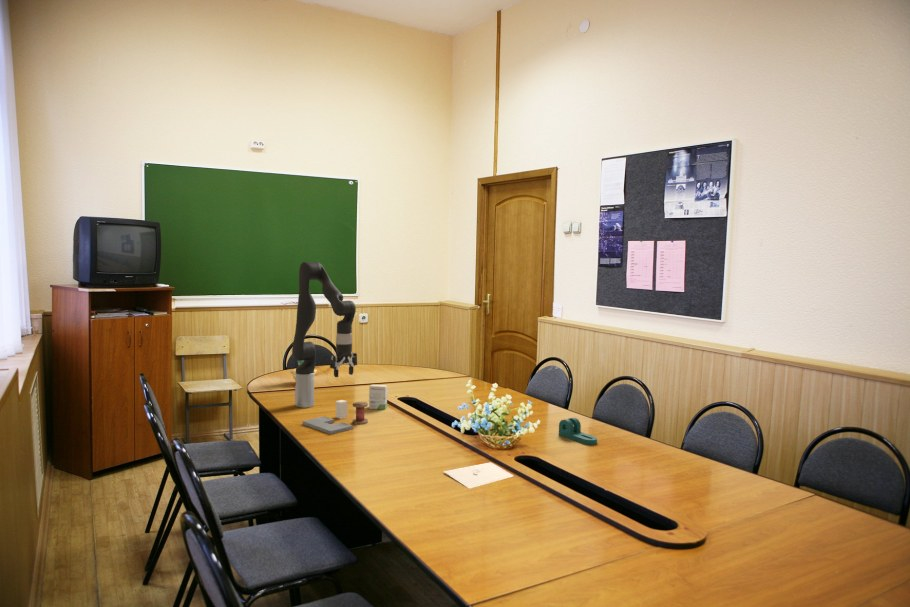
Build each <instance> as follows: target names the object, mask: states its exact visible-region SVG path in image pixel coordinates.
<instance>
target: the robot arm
mask: <svg viewBox="0 0 910 607" xmlns="http://www.w3.org/2000/svg"><path fill="white" fill-rule="evenodd" d="M310 281H318V282H319V283H321V287H322V288H321V291H322V292H321V293H322V294H323V296H324V297H325V299H326V300H327V301H328V302H329V304H330V306H331V309H332V312H333V313H334V314H335V315H336V316H339V317H343V318H342V319H341V320H338V321H337V323H336V338H335V352H336V355H330V360H329V361H330V362H329V368H330V369H333V376H334V378H339V370H340V369H339V368H340V367H341V366H342V365H344V364H347V365H348V375H349V376H350V375H351V376H352V375H354V367H355V366H357V365H358V354H357V352H353V331H352V329H353V326H352V325H353V323H354V319H355V314H356V310H357V307H356V304H355V303H354V301H352V300H344V296H343V294H342V292H341V291H340V290H339V288H338V287H337V286H335V284H334V283H333V282H332V280H331V278H330V276H329V274H328V272H327V271H326V270H325V267H324V266H323V265H322V264H321V263H320V262H318V261H302V262H301V263H300V265H299V268H298V300H297V307H296V308H297V310H296V321H295V322H296V323H295V329H294V330H295V331H294V337H293V342H292V348H291V353H292V358H293V360H295V361H296V362H298V361H302V360H304V362H303V363H302V364H301V365H300V366H296V368H295V369H296V381H295V387H294V391H295V392H294V405H295V406H296V407H297V408H305V409H306V408H312V407H314V406H315V375H314V369H315V370H316V354H317V349H316V345H315V343H313V341H305V339H306V335H307V333H308V331H309V330H310V328H311V327H312V325H313V324H314V322H315V320H316V315H317V314H316V312H317V304H316V302H315V299H314V298H313V296H312V294H311V291H310Z"/></svg>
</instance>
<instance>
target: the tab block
mask: <svg viewBox="0 0 910 607" xmlns="http://www.w3.org/2000/svg"><path fill="white" fill-rule="evenodd" d="M335 418H337V419H339V420H342V419H346V418H348V400H344V399H340V400H336V401H335Z"/></svg>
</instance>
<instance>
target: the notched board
mask: <svg viewBox="0 0 910 607" xmlns="http://www.w3.org/2000/svg"><path fill="white" fill-rule="evenodd" d="M302 425H304V426H306V427H309V428H312V429H315V430H317V431H321V432H324V433H326V434H328V435H334V434H338V433H342V432H346V431H350V430H353V429H354V425H352V424H349V423H345V422H343V421H342V422H337V423H335V418H330V417H328V416H326V415H325V416H319V417H315V418H311V419H305V420H302Z"/></svg>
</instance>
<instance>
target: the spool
mask: <svg viewBox="0 0 910 607" xmlns="http://www.w3.org/2000/svg"><path fill="white" fill-rule="evenodd" d="M352 407H353V408H355V418H354V419H352V424H353V425H365V424H368V422H369V421H368V418H365V408H367V407H369V403H368V402H367V401H356V402H355V401H354V402H353V403H352Z"/></svg>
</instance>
